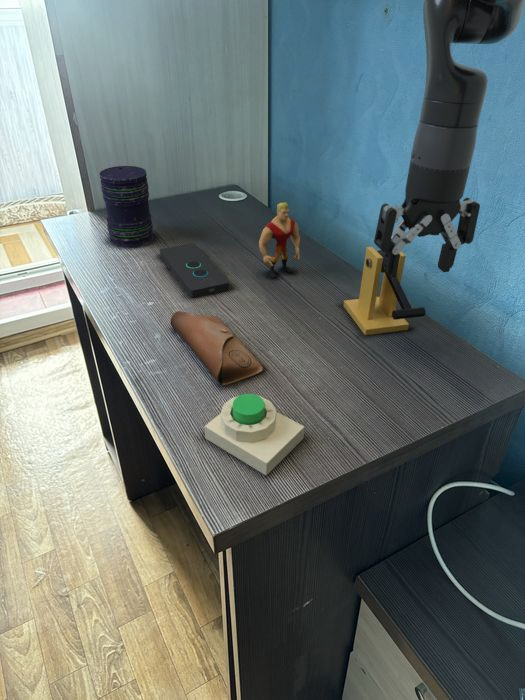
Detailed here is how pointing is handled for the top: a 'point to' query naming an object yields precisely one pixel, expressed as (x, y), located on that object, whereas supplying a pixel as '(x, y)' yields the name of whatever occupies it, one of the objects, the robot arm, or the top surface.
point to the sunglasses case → (216, 347)
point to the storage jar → (127, 206)
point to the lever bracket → (376, 298)
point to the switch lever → (401, 298)
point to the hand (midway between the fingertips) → (417, 272)
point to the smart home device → (194, 270)
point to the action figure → (280, 238)
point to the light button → (248, 409)
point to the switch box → (255, 437)
